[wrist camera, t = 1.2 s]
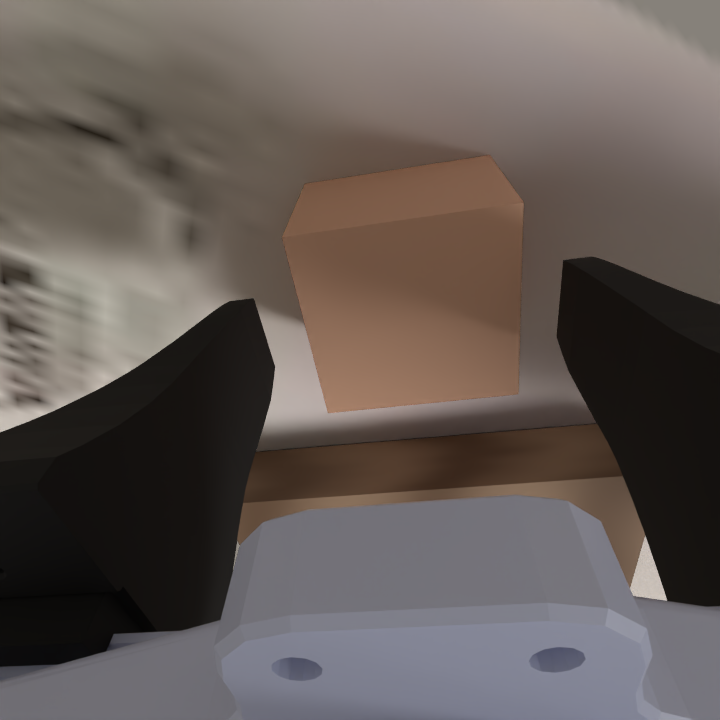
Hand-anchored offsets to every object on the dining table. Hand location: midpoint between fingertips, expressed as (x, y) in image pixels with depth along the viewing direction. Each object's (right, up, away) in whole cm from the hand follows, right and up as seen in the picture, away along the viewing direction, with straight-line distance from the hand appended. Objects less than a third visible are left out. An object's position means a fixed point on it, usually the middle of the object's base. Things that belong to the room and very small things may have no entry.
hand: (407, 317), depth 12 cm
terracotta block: (0, +2, +3) cm, 4 cm away
